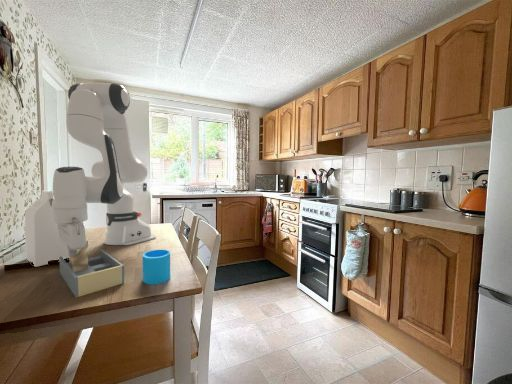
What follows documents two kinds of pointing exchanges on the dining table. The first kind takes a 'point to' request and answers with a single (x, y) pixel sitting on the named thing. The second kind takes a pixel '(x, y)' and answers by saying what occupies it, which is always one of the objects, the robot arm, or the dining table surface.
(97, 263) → the box
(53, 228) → the milk
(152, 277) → the mug
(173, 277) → the dining table surface
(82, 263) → the block
